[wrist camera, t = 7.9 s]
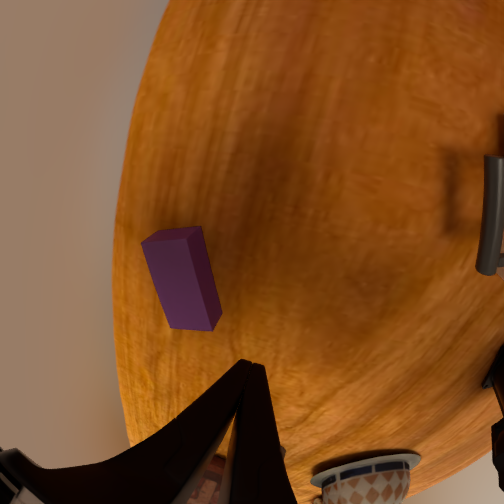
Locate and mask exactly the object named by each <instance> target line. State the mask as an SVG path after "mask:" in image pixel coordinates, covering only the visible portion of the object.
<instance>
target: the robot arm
mask: <svg viewBox="0 0 504 504" xmlns="http://www.w3.org/2000/svg"><path fill="white" fill-rule="evenodd" d="M490 387H493V389H494V392H495V394H496V397H497V400H498V403H499V405H500V408H501V411H502V414H503V418H502V419H501V420H500V421H498V422H497V423H495V424H494V425H492V426H491V431H492V433H491V436H492V460H493V464H494V466H495V468H496V469H497V471H498V476H499V487H500V488H501V489H502V491H503V492H504V345H503V346H502V347H501V348H500V350H499V352H498V354H497V356H496V358H495V360H494V363H493V365H492V367H491V368H490V370H489V372H488V374H487V376H486V378H485V380H484V382H483V383H482V389H486V388H490ZM235 413H236V414H235ZM234 416H235V418H234ZM233 418H234V422H233V428H232V433H231V438H230V443H229V448H228V453H227V458H226V463H225V468H224V473H223V478H222V482H221V487H220V492H219V497H218V502H217V504H298V503H297V501H296V498H295V496H294V493H293V490H292V488H291V485H290V482H289V479H288V476H287V472H286V468H285V464H284V460H283V455H282V451H281V446H280V441H279V436H278V431H277V426H276V421H275V416H274V411H273V406H272V401H271V396H270V391H269V386H268V380H267V375H266V370H265V366H264V365H261V364H258V363H253V364H252V362H251V361H248V360H245V359H240V360H239V361H238V362H237V363H236V364H235V365H234V366H232V367H231V368H230V369H229V370H228V371H227V372H226V373H225V374H224V375H223V376H222V377H221V378H220V379H218V380H217V381H216V382H215V383H214V384H213V385H212V386H211V387H210V388H209V389H207V390H206V391H205V392H204V393H203V394H202V395H201V396H200V397H199V398H197V399H196V400H195V401H194V402H193V403H192V404H191V405H189V406H188V407H187V408H186V409H185V410H184V411H182V412H181V413H180V414H179V415H178V416H177V417H176V418H174V419H173V420H172V421H170V422H169V423H168V424H167V425H165V426H164V427H163V428H162V429H160V430H159V431H158V432H156V433H155V434H153V435H152V436H150V437H148V438H147V439H145V440H144V441H142V442H140V443H139V444H137V445H135V446H133V447H131V448H130V449H128V450H126V451H124V452H123V453H121V454H119V455H117V456H115V457H113V458H110V459H108V460H105V461H103V462H99V463H95V464H89V465H82V466H75V467H68V468H59V469H44V468H42V467H40V466H39V465H38V464H36V463H35V462H34V461H32V460H31V459H30V458H29V457H27V456H26V455H25V454H24V453H22V452H21V451H20V450H18V449H17V448H13V449H9V450H5V451H4V450H3V449H2V448H1V447H0V504H186V503H187V501H188V500H189V498H190V496H191V495H192V493H193V491H194V490H195V488H196V486H197V485H198V483H199V481H200V479H201V478H202V476H203V474H204V472H205V471H206V469H207V467H208V465H209V463H210V462H211V460H212V458H213V456H214V454H215V453H216V451H217V449H218V447H219V445H220V443H221V441H222V440H223V438H224V436H225V434H226V432H227V430H228V428H229V426H230V424H231V422H232V420H233Z"/></svg>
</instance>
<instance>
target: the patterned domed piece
mask: <svg viewBox="0 0 504 504" xmlns="http://www.w3.org/2000/svg"><path fill="white" fill-rule="evenodd" d="M420 460H421V458H420V456H418V455H416V454H396V455H389V456H381V457H376V458H371V459H366V460H362V461H358V462H353V463H349V464H346V465H342V466H339V467H335V468H332V469H329V470H326V471H323V472H321V473H318V474H317V475H315V476H314V477H313V478H312V479H311V481H310V482H311V484H312V485H314V486H316V487H319V488H322V498H323V502H324V504H402V502H403V501H404V499H405V497H406V495H407V493H408V490H409V485H410V470H411V469H413V468H414V467H415V466H417V465H418V463H419V462H420Z"/></svg>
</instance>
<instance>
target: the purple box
mask: <svg viewBox="0 0 504 504" xmlns="http://www.w3.org/2000/svg"><path fill="white" fill-rule="evenodd" d="M141 245H142V248H143V252H144V255H145V258H146V261H147V264H148V267H149V270H150V273H151V276H152V279H153V282H154V285H155V288H156V291H157V294H158V296H159V299H160V302H161V305H162V307H163V310H164V313H165V315H166V318H167V320H168V323H169V325H170V328H174V329H186V330H199V331H213V330H214V328H215V326H216V324H217V322H218V320H219V319H220V317H221V315H222V310H221V306H220V302H219V298H218V294H217V291H216V287H215V283H214V279H213V275H212V271H211V267H210V263H209V259H208V255H207V250H206V246H205V242H204V238H203V233H202V229H201V226H198V227H188V228H178V229H169V230H160V231H157V232H155V233H154V234H152V235H151V236H150V237H148V238H147V239H145V240H144V241H143V242H141Z"/></svg>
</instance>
